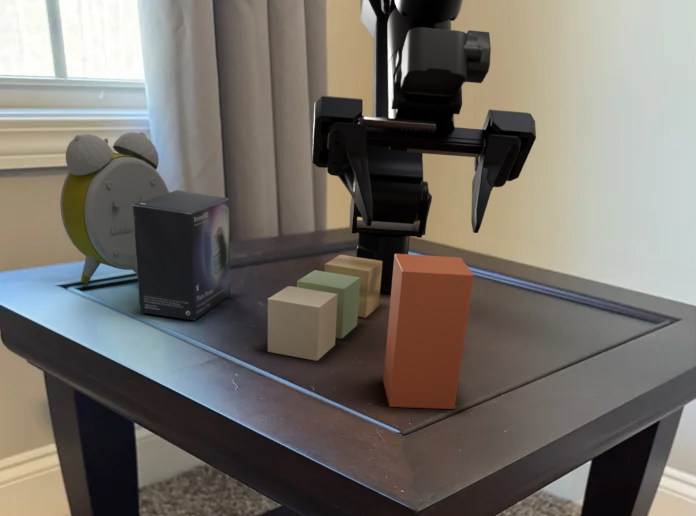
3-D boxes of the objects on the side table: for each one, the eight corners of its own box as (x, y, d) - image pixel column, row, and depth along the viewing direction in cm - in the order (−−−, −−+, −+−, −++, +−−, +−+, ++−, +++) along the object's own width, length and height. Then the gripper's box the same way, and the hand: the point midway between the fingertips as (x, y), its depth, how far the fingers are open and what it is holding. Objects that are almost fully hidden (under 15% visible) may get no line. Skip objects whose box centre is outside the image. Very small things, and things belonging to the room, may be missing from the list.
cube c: (287, 336, 76) (288, 285, 74) (335, 345, 75) (337, 293, 73) (267, 351, 72) (267, 298, 70) (317, 361, 71) (319, 307, 69)
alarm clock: (149, 266, 94) (138, 128, 86) (188, 278, 91) (180, 136, 83) (67, 282, 86) (46, 131, 78) (107, 296, 83) (89, 140, 75)
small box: (197, 322, 78) (192, 212, 72) (137, 314, 79) (127, 204, 73) (234, 296, 86) (232, 195, 81) (179, 288, 87) (173, 188, 82)
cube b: (312, 317, 82) (314, 269, 79) (357, 325, 81) (360, 277, 78) (295, 331, 78) (296, 280, 75) (341, 339, 77) (344, 288, 74)
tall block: (383, 382, 68) (394, 253, 62) (444, 384, 69) (461, 257, 63) (389, 407, 64) (402, 270, 58) (454, 409, 64) (474, 275, 58)
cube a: (337, 299, 89) (339, 254, 86) (379, 306, 88) (382, 260, 85) (322, 310, 84) (324, 263, 82) (365, 318, 83) (369, 270, 81)
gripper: (318, -26, 59) (316, 151, 56) (553, -2, 61) (564, 170, 58) (313, 87, 70) (311, 241, 67) (512, 104, 72) (520, 254, 69)
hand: (423, 226), depth 65 cm, fingers open, 9 cm apart
